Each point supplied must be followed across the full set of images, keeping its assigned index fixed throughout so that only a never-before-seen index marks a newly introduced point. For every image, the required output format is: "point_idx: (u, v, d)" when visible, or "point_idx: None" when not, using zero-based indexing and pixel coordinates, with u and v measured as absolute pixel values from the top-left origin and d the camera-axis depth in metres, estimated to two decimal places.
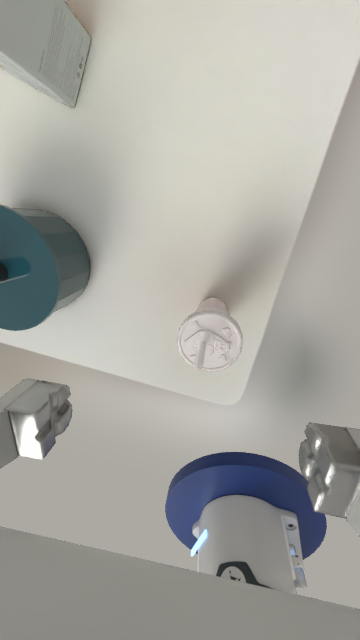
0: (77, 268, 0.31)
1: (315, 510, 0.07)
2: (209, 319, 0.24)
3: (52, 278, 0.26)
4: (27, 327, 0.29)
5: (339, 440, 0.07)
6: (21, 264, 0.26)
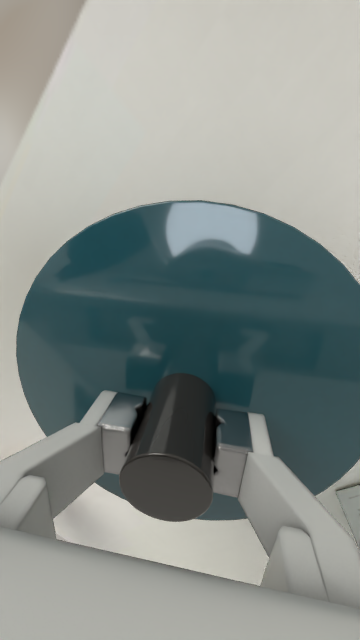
0: None
1: None
2: None
3: (110, 483, 0.12)
4: (20, 357, 0.10)
5: (237, 424, 0.08)
6: None
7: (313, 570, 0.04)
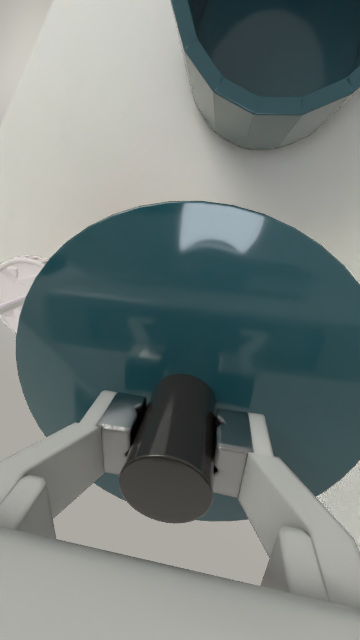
0: (224, 124, 0.18)
1: None
2: None
3: (110, 484, 0.12)
4: (20, 357, 0.10)
5: (237, 424, 0.08)
6: None
7: (313, 570, 0.04)
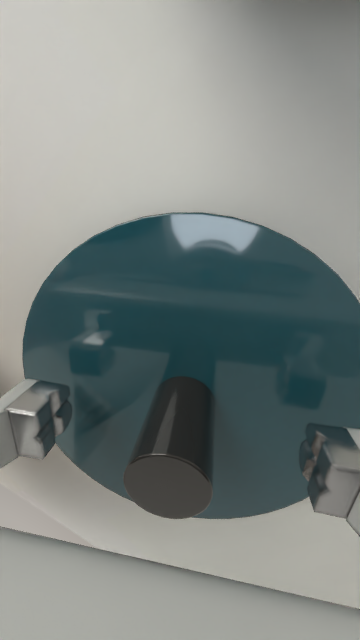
0: None
1: (315, 510, 0.07)
2: None
3: (112, 483, 0.12)
4: (26, 359, 0.10)
5: (339, 440, 0.07)
6: None
7: None
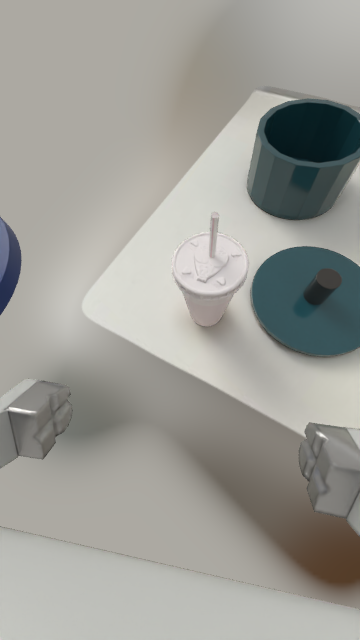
0: (290, 197, 0.31)
1: (315, 510, 0.07)
2: (239, 267, 0.20)
3: (300, 345, 0.26)
4: (253, 296, 0.29)
5: (340, 440, 0.07)
6: (318, 320, 0.27)
7: None
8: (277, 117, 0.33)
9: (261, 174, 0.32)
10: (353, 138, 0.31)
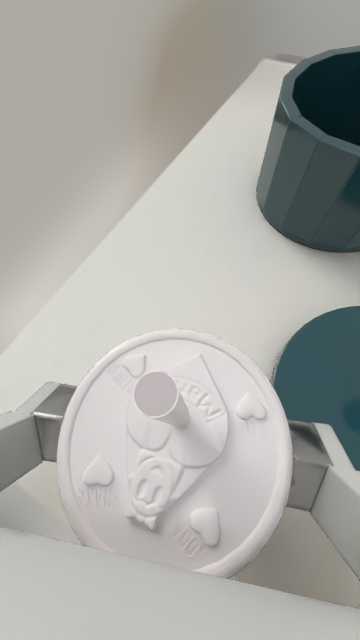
0: (337, 217, 0.17)
1: None
2: (264, 467, 0.06)
3: None
4: None
5: (306, 435, 0.07)
6: None
7: None
8: (311, 78, 0.19)
9: (285, 175, 0.18)
10: None
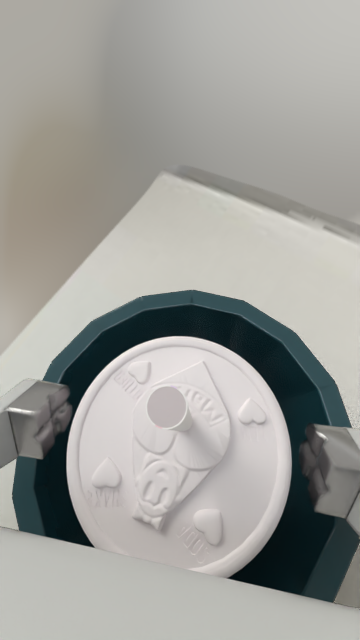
0: None
1: (315, 510, 0.07)
2: (264, 470, 0.07)
3: None
4: None
5: (339, 440, 0.07)
6: None
7: None
8: (117, 334, 0.12)
9: None
10: (309, 421, 0.11)
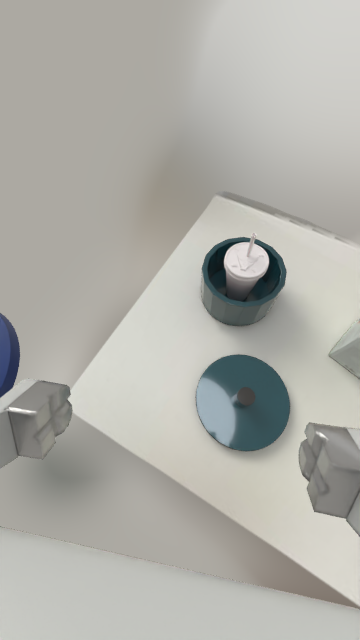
0: (228, 316, 0.41)
1: (315, 510, 0.07)
2: (263, 262, 0.36)
3: (228, 442, 0.35)
4: (197, 398, 0.38)
5: (339, 440, 0.07)
6: (243, 421, 0.36)
7: None
8: (220, 250, 0.42)
9: (207, 296, 0.41)
10: (276, 271, 0.41)
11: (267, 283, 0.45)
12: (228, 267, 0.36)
